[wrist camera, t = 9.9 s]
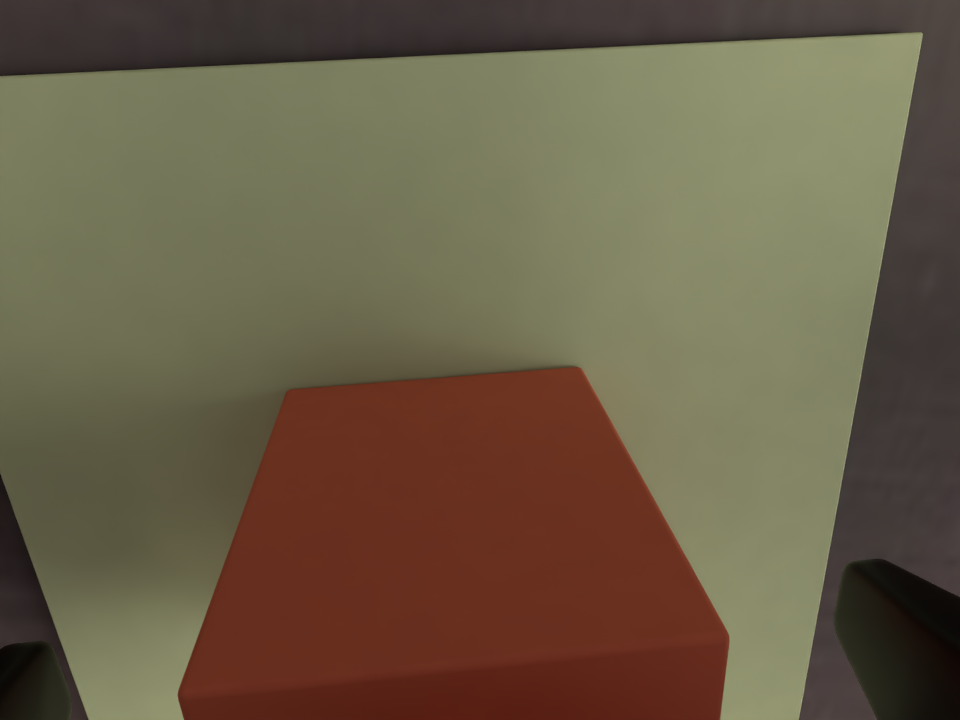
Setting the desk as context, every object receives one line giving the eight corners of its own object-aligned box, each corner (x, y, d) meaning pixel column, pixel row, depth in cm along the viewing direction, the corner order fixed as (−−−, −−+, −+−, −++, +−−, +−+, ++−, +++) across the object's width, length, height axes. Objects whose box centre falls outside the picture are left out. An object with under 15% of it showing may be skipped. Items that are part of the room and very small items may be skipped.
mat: (131, 808, 13) (125, 825, 12) (-123, 81, 8) (-142, 83, 8) (786, 732, 14) (794, 747, 13) (908, 32, 9) (924, 32, 9)
